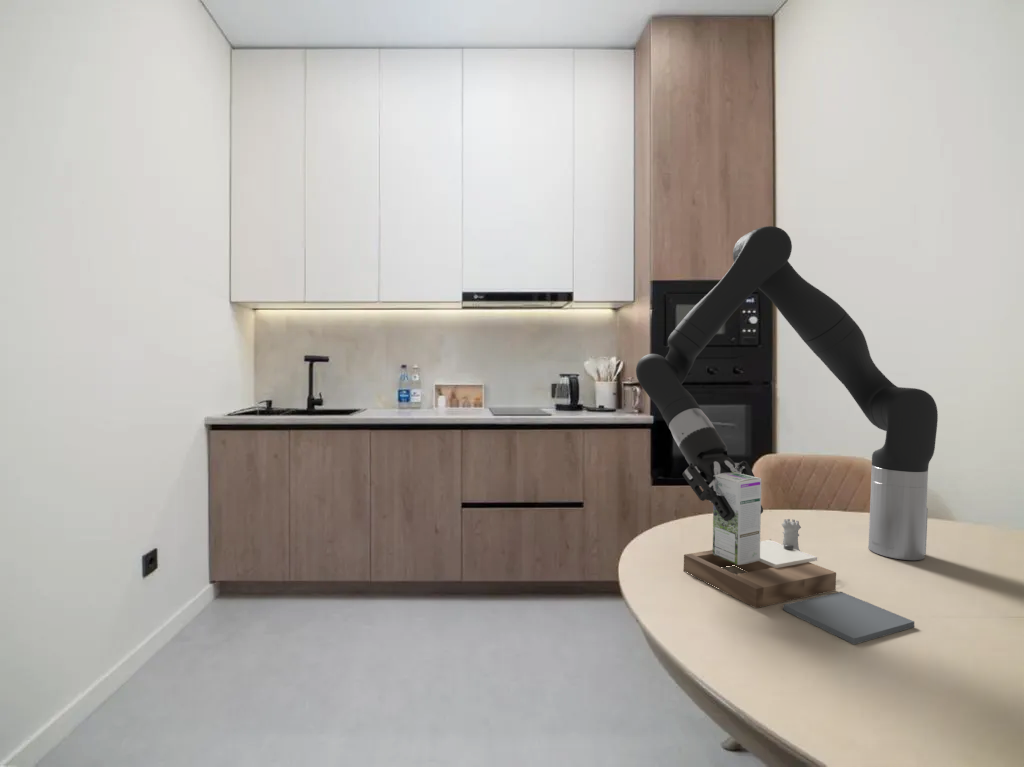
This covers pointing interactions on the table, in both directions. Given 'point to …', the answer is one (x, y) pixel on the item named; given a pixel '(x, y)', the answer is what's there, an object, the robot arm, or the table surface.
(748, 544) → the syrup box
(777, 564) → the sliding lid
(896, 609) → the table surface
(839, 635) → the rubber mat
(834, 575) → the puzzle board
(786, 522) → the rook chess piece
